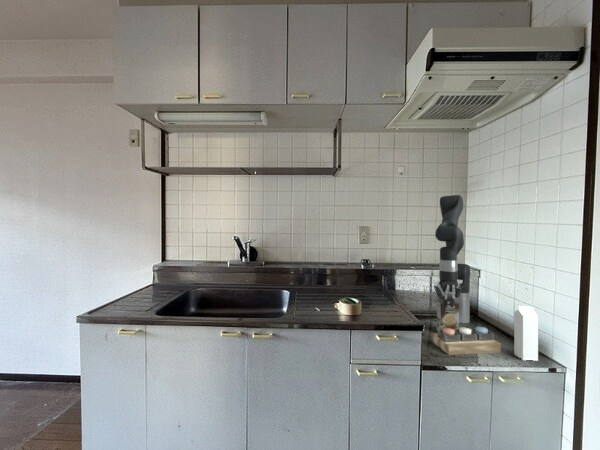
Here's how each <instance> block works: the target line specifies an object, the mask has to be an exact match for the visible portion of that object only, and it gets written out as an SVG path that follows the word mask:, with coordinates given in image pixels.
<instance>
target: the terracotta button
mask: <svg viewBox="0 0 600 450" xmlns="http://www.w3.org/2000/svg"><path fill="white" fill-rule="evenodd" d="M443 334H445V335H455V330H453V329H451V328H443Z"/></svg>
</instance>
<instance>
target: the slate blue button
mask: <svg viewBox="0 0 600 450" xmlns="http://www.w3.org/2000/svg"><path fill="white" fill-rule="evenodd" d="M474 329H475V331H476V332H477V333H479V334H488V331H489V330H488V328H487V327H483V326H475V327H474Z"/></svg>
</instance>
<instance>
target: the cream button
mask: <svg viewBox="0 0 600 450" xmlns="http://www.w3.org/2000/svg"><path fill="white" fill-rule="evenodd" d="M471 329H472V328H469V327H465V326H464V327H463V326H462V327H460V326H459V332H460V333H461V334H463V335H466V334H471Z"/></svg>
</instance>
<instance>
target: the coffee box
mask: <svg viewBox="0 0 600 450" xmlns="http://www.w3.org/2000/svg"><path fill="white" fill-rule="evenodd" d="M443 328H451V329H453V330H457V329H459V328H460V323H459V304H458V303H457V302H455V305H454V307H450V300H448V307H444V306H443V304H442V300H439V299H438V300H436V331H437V332H438V330H443Z"/></svg>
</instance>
